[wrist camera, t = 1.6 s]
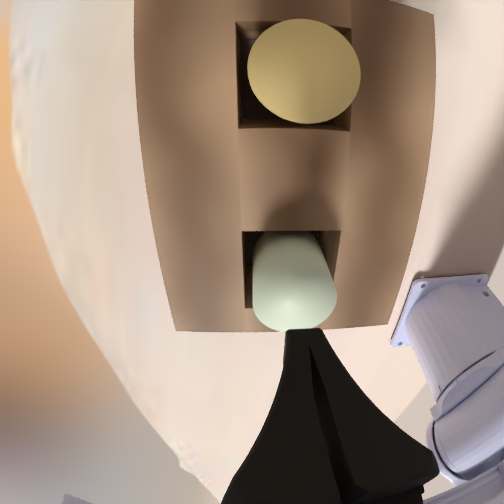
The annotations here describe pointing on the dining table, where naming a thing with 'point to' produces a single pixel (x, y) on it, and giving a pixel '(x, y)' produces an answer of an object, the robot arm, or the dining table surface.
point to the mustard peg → (304, 71)
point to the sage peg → (291, 281)
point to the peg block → (281, 155)
